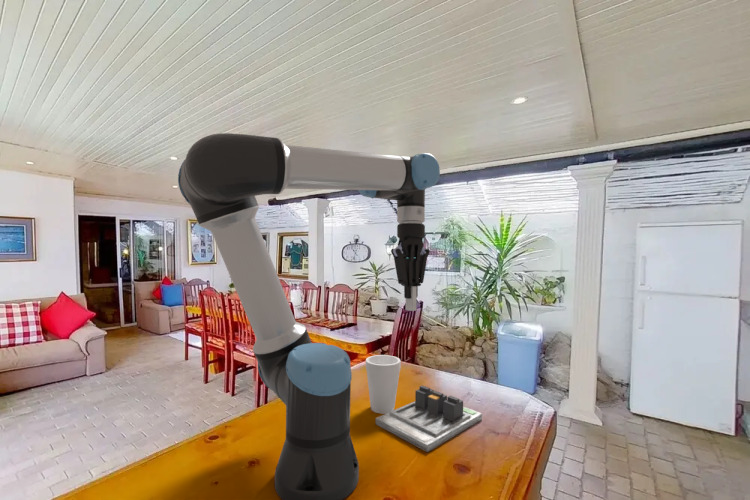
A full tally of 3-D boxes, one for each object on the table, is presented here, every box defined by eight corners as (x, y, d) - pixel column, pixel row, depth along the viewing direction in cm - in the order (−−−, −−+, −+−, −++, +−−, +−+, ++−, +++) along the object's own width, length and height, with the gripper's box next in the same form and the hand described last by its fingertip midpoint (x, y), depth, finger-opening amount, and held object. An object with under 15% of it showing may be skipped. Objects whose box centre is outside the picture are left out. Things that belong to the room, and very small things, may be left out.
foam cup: (400, 402, 97) (401, 355, 97) (399, 417, 88) (400, 366, 88) (367, 400, 98) (367, 354, 98) (362, 415, 89) (363, 364, 89)
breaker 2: (436, 416, 85) (436, 397, 85) (426, 412, 87) (427, 393, 87) (446, 411, 88) (447, 392, 88) (437, 407, 90) (437, 389, 90)
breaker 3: (453, 422, 82) (453, 402, 82) (443, 417, 84) (443, 398, 84) (463, 417, 85) (463, 397, 85) (452, 412, 87) (452, 393, 87)
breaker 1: (424, 409, 89) (424, 390, 89) (415, 405, 91) (415, 387, 91) (433, 405, 91) (433, 387, 92) (424, 401, 94) (425, 383, 94)
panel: (427, 452, 72) (427, 442, 72) (375, 424, 84) (375, 415, 84) (481, 419, 87) (482, 411, 87) (431, 399, 99) (431, 392, 99)
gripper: (403, 221, 86) (403, 314, 86) (437, 223, 95) (437, 309, 95) (383, 223, 92) (383, 310, 92) (417, 225, 101) (417, 306, 100)
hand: (411, 310), depth 93 cm, fingers closed
